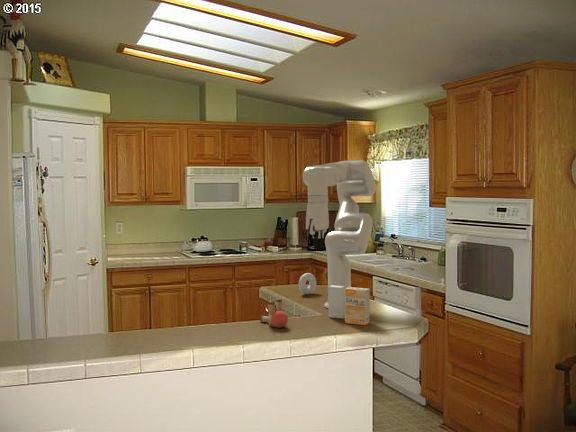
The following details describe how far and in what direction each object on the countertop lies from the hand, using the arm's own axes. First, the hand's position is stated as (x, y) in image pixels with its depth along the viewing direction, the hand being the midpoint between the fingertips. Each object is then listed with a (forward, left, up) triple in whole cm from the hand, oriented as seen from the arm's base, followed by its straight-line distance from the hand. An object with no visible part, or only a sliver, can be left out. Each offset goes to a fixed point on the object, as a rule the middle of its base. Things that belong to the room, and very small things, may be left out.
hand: (318, 248), depth 224 cm
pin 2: (+12, -10, -27) cm, 31 cm away
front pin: (+14, -8, -26) cm, 31 cm away
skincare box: (-7, +4, -27) cm, 28 cm away
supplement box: (-2, +15, -27) cm, 31 cm away
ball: (+17, -6, -24) cm, 30 cm away
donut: (-40, -29, -27) cm, 56 cm away
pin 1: (+17, -11, -27) cm, 33 cm away
